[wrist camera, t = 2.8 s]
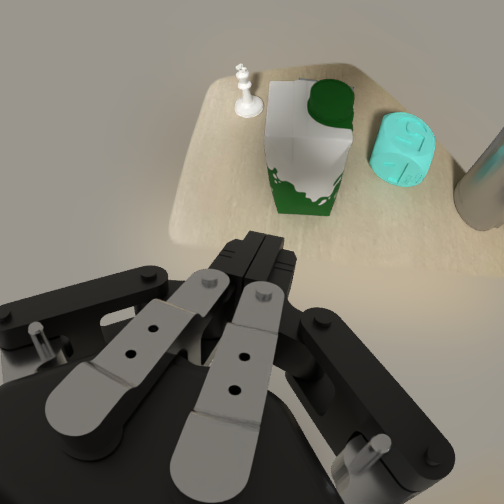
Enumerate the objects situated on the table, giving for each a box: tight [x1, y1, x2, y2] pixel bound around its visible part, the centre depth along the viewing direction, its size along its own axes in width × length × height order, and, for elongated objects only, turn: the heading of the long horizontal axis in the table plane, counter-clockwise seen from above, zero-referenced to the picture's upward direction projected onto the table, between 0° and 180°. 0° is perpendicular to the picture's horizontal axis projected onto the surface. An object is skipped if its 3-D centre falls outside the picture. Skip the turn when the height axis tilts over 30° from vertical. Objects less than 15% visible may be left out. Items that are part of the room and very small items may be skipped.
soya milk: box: [264, 79, 354, 216], centre depth 34 cm, size 9×9×20 cm
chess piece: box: [235, 64, 264, 118], centre depth 45 cm, size 5×5×10 cm
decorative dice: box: [369, 112, 436, 187], centre depth 40 cm, size 8×8×8 cm
